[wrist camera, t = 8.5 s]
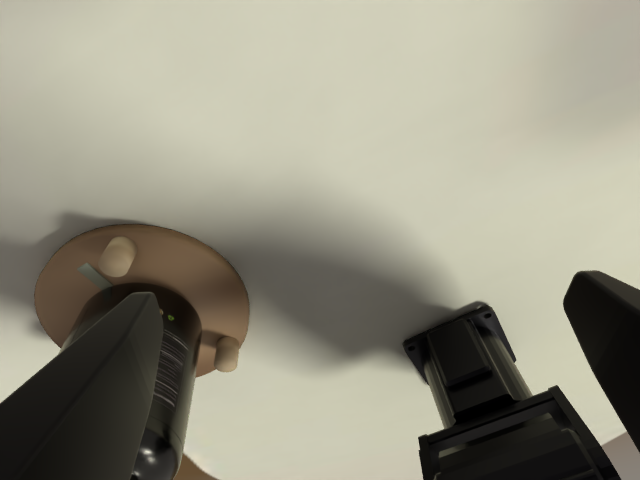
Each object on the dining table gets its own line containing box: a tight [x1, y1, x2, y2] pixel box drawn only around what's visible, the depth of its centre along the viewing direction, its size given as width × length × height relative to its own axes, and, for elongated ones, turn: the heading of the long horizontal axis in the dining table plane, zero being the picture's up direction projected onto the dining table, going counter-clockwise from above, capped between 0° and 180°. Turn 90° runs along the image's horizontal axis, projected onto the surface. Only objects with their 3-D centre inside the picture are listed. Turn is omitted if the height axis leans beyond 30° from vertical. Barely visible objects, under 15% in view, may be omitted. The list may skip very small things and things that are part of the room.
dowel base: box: [34, 224, 249, 378], centre depth 25 cm, size 12×12×3 cm
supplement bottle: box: [58, 282, 202, 480], centre depth 20 cm, size 7×7×12 cm
